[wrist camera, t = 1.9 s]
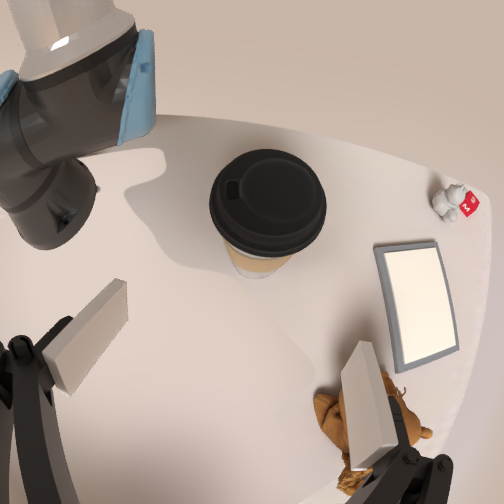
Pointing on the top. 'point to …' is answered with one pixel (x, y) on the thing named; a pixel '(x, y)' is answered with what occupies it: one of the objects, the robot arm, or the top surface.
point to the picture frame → (417, 304)
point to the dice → (469, 204)
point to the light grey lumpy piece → (449, 202)
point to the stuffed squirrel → (335, 428)
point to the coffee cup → (266, 209)
